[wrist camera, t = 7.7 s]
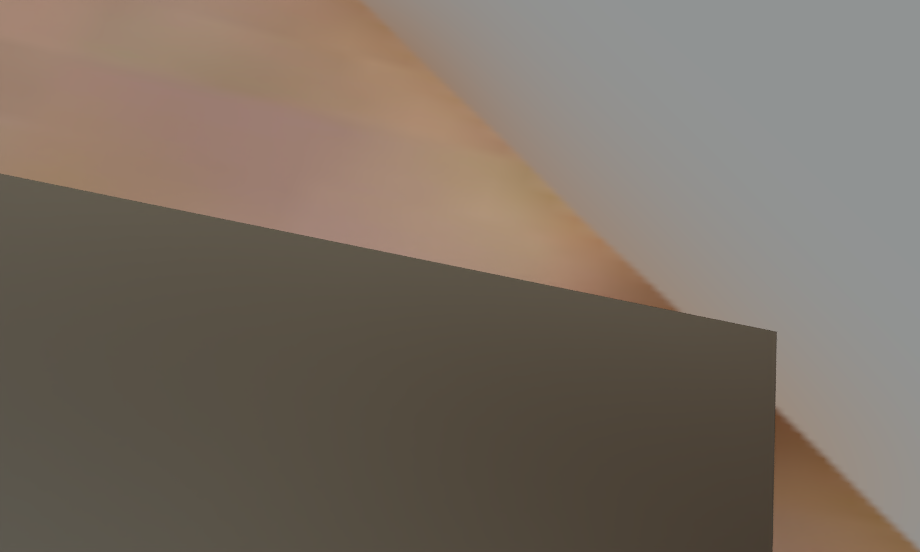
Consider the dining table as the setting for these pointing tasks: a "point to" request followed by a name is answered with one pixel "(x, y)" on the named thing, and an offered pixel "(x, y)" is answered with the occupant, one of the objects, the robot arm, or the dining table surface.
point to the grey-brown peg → (353, 398)
